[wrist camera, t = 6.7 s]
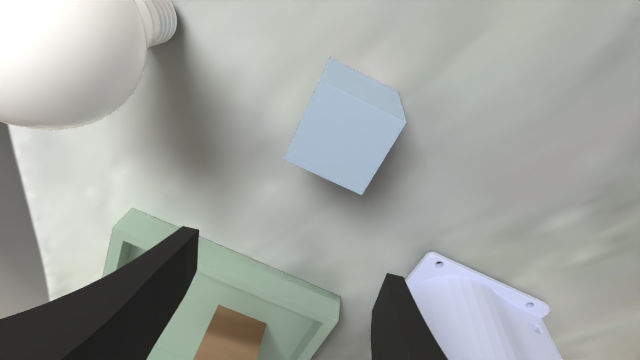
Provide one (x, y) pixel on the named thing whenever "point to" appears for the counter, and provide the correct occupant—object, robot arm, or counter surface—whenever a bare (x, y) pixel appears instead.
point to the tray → (230, 296)
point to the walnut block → (231, 337)
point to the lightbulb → (75, 57)
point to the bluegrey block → (347, 127)
